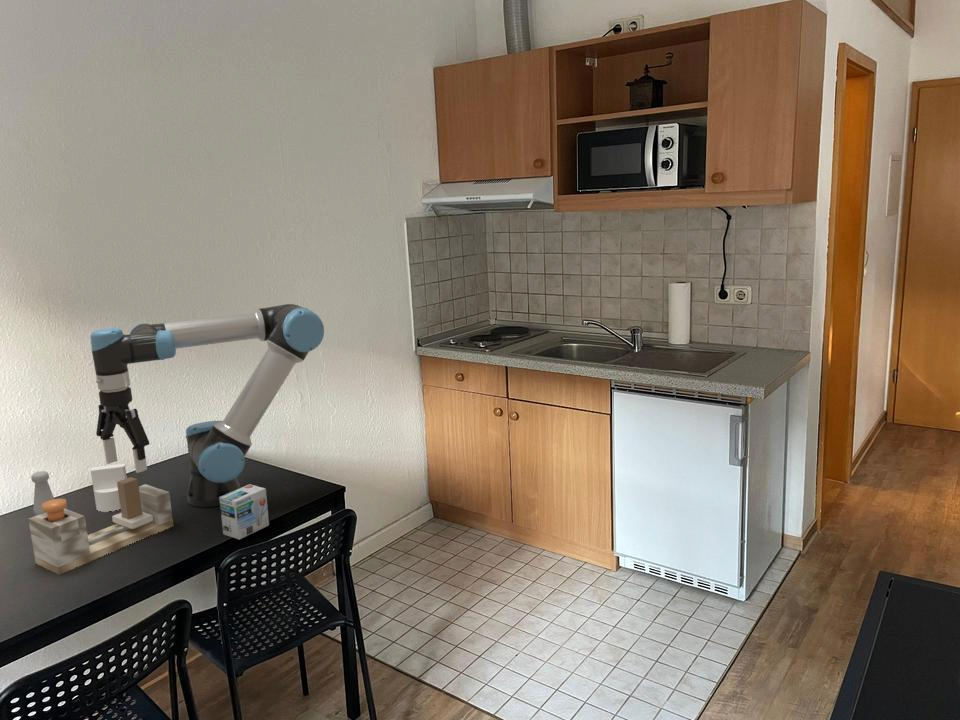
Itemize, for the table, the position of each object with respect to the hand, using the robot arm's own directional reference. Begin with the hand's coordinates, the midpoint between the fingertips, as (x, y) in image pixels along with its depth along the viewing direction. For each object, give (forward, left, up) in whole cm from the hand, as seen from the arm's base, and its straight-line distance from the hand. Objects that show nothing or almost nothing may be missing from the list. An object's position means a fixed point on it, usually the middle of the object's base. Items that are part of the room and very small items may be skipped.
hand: (126, 466), depth 198 cm
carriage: (0, 0, -15) cm, 15 cm away
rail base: (+4, +7, -19) cm, 21 cm away
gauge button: (+10, +17, -8) cm, 21 cm away
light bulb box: (-30, -2, -19) cm, 35 cm away
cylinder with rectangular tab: (+16, -18, -19) cm, 31 cm away
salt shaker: (+32, -11, -19) cm, 39 cm away
